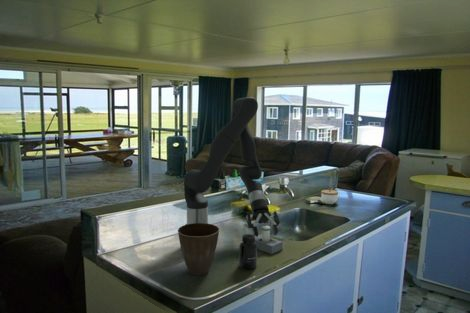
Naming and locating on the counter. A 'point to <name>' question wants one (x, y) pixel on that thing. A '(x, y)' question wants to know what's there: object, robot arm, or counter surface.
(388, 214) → the counter surface
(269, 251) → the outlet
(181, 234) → the plant pot
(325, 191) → the lidded jar
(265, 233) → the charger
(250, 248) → the supplement bottle
